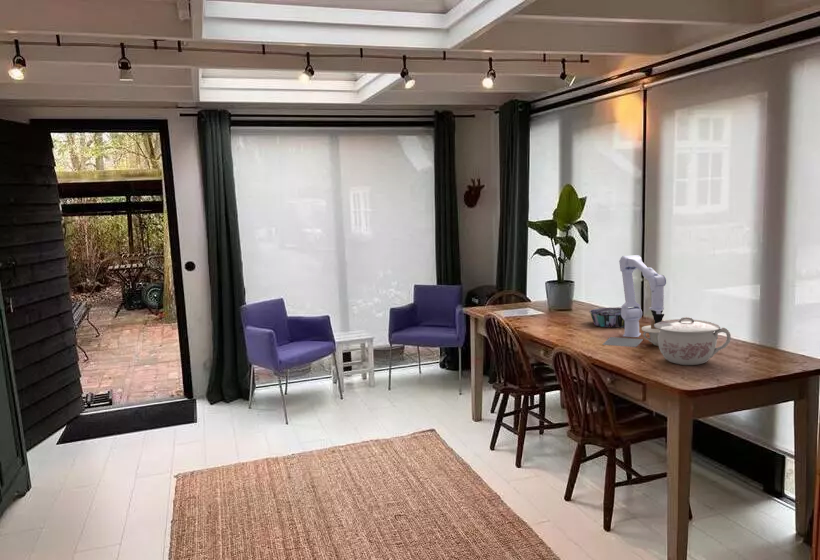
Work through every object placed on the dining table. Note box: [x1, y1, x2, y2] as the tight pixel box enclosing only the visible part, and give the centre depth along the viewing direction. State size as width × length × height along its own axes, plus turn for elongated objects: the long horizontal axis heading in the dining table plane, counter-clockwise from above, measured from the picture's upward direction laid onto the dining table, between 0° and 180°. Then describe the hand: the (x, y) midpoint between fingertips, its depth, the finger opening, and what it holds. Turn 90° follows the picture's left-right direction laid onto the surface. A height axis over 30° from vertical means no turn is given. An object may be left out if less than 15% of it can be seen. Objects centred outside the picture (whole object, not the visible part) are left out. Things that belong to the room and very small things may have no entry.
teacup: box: [642, 331, 659, 347], centre depth 307 cm, size 14×11×8 cm
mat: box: [602, 336, 644, 348], centre depth 317 cm, size 18×17×1 cm
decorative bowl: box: [589, 306, 625, 328], centre depth 362 cm, size 26×28×10 cm
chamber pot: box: [654, 316, 732, 366], centre depth 274 cm, size 28×28×21 cm
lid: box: [641, 319, 665, 333], centre depth 307 cm, size 15×15×5 cm
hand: (657, 325), depth 307 cm, fingers open, 7 cm apart
